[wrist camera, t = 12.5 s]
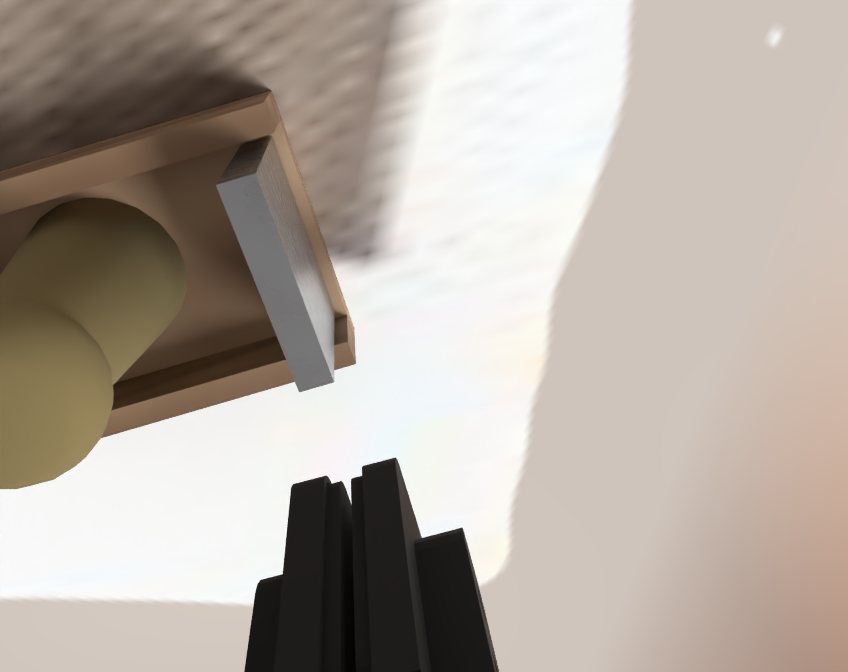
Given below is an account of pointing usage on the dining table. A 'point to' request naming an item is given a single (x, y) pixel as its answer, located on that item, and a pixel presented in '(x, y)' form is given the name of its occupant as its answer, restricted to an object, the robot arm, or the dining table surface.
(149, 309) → the cork
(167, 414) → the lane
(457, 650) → the robot arm
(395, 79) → the dining table surface
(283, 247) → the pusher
